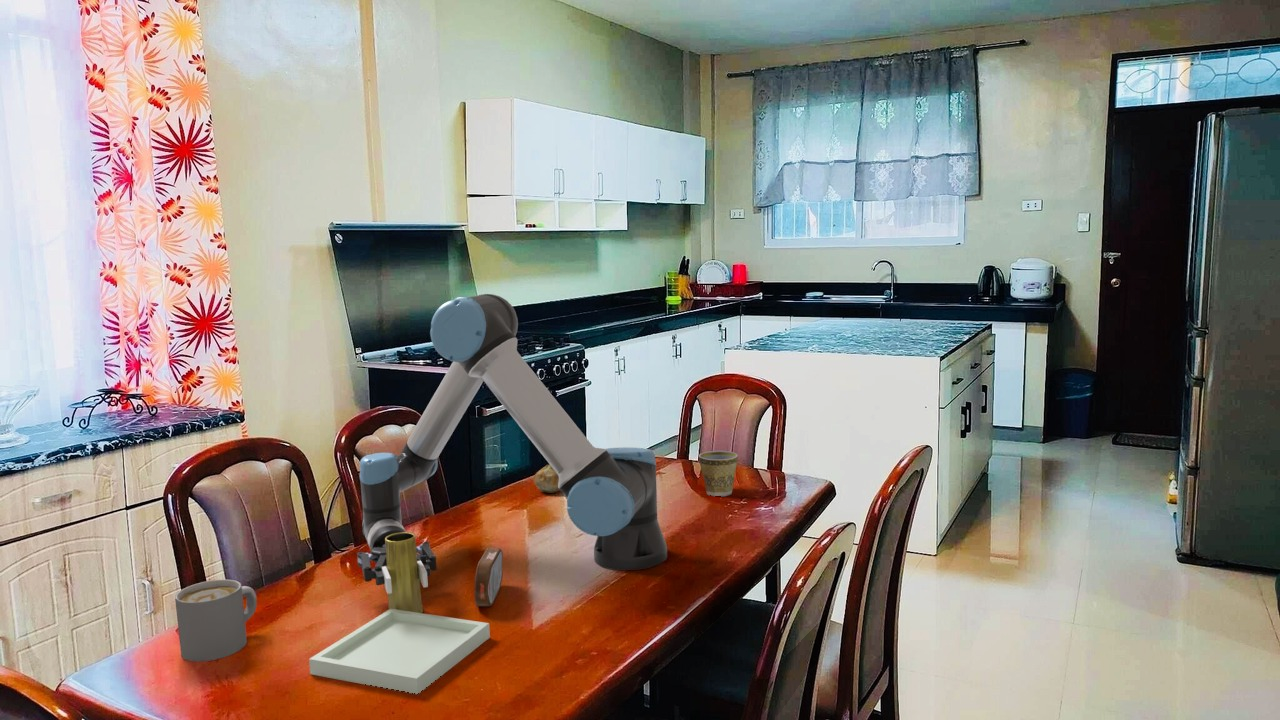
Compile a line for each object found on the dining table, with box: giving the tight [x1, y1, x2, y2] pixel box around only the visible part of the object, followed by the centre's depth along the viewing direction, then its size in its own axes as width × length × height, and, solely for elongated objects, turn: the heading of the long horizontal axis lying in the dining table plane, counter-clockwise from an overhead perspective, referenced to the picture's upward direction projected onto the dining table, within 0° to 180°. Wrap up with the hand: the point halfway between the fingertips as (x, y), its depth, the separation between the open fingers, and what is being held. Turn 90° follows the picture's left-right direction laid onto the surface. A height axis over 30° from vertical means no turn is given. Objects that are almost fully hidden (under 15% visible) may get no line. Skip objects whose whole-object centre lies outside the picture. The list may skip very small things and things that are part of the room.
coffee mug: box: [174, 578, 258, 663], centre depth 150 cm, size 13×10×10 cm
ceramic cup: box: [698, 450, 738, 497], centre depth 231 cm, size 13×10×10 cm
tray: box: [308, 608, 491, 695], centre depth 144 cm, size 20×20×2 cm
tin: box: [473, 547, 504, 608], centre depth 166 cm, size 15×3×8 cm, turn 178°
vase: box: [385, 531, 424, 613], centre depth 159 cm, size 6×6×14 cm
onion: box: [533, 463, 560, 494], centre depth 236 cm, size 8×8×8 cm
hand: (407, 582), depth 155 cm, fingers closed on vase, 5 cm apart
